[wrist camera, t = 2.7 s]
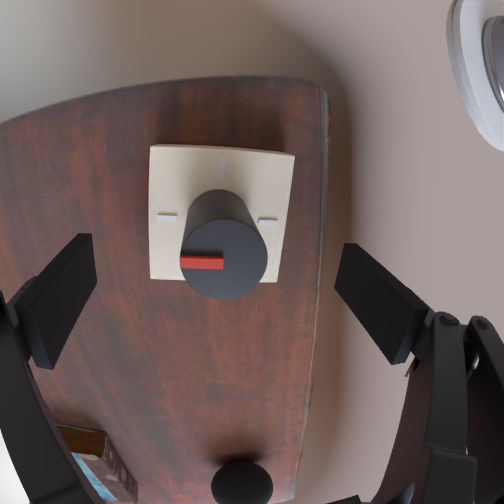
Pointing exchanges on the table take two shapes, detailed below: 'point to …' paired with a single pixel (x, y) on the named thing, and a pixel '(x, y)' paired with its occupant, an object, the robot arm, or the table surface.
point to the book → (100, 463)
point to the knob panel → (209, 178)
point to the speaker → (242, 484)
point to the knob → (222, 246)
